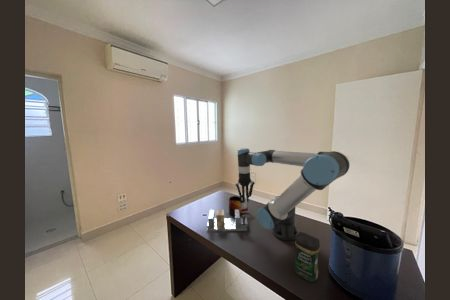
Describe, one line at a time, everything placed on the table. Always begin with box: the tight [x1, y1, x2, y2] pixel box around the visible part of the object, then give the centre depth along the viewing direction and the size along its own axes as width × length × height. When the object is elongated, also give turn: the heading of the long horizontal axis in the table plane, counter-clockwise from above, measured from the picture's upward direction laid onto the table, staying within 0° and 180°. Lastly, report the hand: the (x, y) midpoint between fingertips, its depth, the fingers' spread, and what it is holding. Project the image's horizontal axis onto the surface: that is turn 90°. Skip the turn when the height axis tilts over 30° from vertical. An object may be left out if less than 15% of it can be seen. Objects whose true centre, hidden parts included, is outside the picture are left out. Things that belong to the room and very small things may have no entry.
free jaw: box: [234, 209, 249, 228], centre depth 116 cm, size 8×12×8 cm
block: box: [215, 209, 225, 227], centre depth 117 cm, size 5×7×8 cm
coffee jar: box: [293, 231, 321, 283], centre depth 77 cm, size 10×8×19 cm
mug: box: [228, 195, 249, 218], centre depth 134 cm, size 10×14×12 cm
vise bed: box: [206, 209, 248, 232], centre depth 117 cm, size 26×13×8 cm, turn 89°
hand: (245, 206), depth 114 cm, fingers closed
